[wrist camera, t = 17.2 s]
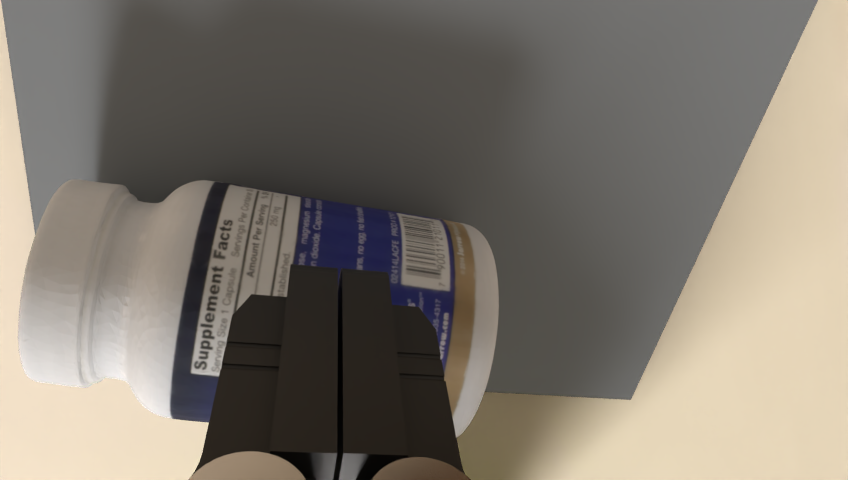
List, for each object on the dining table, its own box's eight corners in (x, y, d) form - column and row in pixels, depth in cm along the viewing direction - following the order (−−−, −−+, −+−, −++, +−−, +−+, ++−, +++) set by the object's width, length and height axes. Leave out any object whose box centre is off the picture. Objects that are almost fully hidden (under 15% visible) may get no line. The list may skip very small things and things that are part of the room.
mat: (883, -193, 15) (908, -194, 14) (622, 383, 24) (630, 399, 24) (-40, -425, 12) (-63, -440, 11) (64, 350, 21) (54, 368, 20)
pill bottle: (425, 423, 20) (66, 385, 18) (451, 235, 20) (108, 177, 18) (486, 474, 14) (-27, 426, 12) (519, 214, 15) (37, 126, 13)
